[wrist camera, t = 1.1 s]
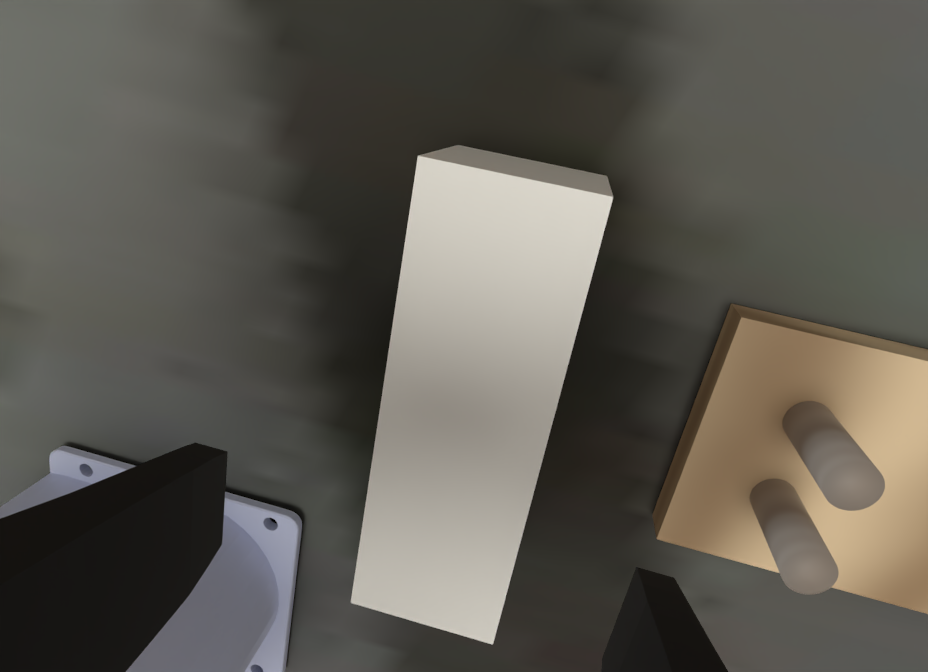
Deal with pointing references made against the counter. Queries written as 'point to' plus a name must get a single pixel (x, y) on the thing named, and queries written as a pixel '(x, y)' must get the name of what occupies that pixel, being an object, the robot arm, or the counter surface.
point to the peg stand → (807, 459)
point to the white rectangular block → (473, 380)
